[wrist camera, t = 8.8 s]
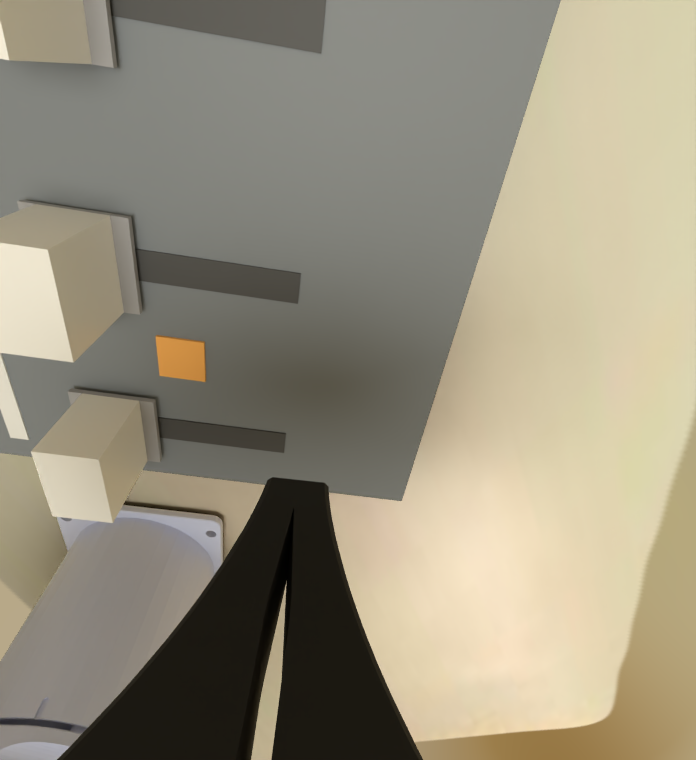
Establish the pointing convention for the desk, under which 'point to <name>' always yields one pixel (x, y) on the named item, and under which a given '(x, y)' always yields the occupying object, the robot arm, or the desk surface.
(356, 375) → the panel
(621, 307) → the desk surface
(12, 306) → the block
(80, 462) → the breaker handle
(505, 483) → the desk surface
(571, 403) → the desk surface
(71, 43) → the block
